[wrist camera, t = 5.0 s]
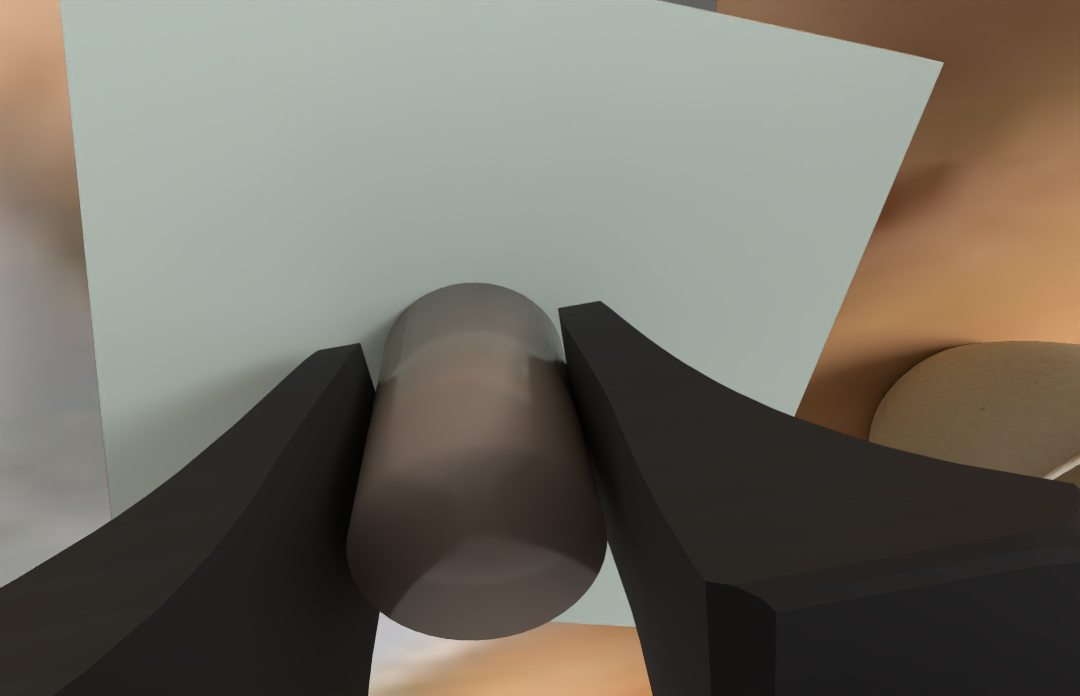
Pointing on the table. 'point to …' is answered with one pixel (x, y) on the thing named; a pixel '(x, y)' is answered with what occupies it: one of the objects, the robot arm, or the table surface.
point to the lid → (463, 246)
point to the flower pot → (990, 408)
